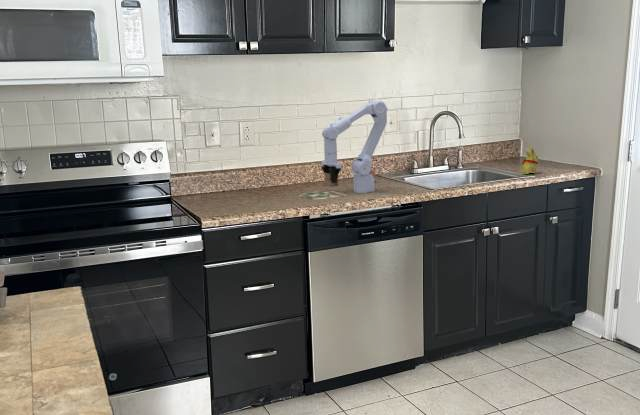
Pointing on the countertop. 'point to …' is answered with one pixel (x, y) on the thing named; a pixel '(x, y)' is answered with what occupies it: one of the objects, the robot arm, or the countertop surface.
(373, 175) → the cupcake
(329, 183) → the walnut block
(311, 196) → the board
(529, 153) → the chocolate bunny
